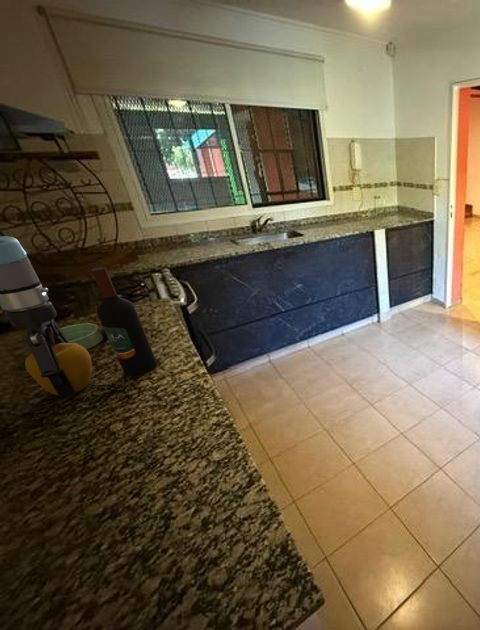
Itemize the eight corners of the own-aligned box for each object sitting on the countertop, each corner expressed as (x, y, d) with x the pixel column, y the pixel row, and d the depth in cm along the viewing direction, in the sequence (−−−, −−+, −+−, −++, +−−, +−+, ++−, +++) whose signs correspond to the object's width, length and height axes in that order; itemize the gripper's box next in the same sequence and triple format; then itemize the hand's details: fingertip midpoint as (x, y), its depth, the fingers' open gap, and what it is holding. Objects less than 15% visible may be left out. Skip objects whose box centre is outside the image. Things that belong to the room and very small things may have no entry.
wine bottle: (161, 369, 97) (121, 268, 84) (128, 381, 92) (80, 276, 79) (154, 359, 102) (114, 262, 88) (122, 370, 97) (75, 269, 83)
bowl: (30, 359, 102) (22, 346, 100) (71, 335, 114) (65, 323, 112) (79, 358, 102) (72, 345, 100) (114, 334, 115) (109, 323, 113)
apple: (104, 371, 96) (84, 331, 90) (97, 392, 88) (75, 350, 82) (51, 384, 91) (26, 343, 85) (38, 408, 83) (10, 364, 77)
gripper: (39, 319, 72) (84, 400, 82) (58, 286, 89) (93, 357, 99) (-13, 329, 68) (41, 414, 78) (17, 293, 85) (58, 366, 95)
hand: (70, 382), depth 88 cm, fingers closed on apple, 11 cm apart
